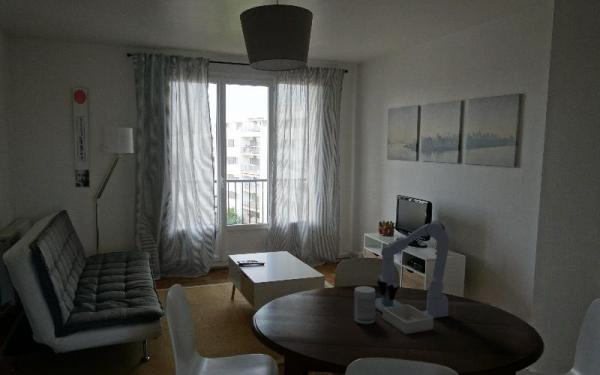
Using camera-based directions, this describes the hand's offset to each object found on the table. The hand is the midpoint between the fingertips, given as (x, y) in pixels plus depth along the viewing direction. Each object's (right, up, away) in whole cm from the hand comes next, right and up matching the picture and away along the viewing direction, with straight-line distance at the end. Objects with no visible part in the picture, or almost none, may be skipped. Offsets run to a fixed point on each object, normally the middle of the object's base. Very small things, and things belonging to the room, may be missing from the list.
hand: (387, 297), depth 222 cm
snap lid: (0, -5, +1) cm, 6 cm away
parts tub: (+5, -7, -20) cm, 22 cm away
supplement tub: (-14, -7, -17) cm, 23 cm away
